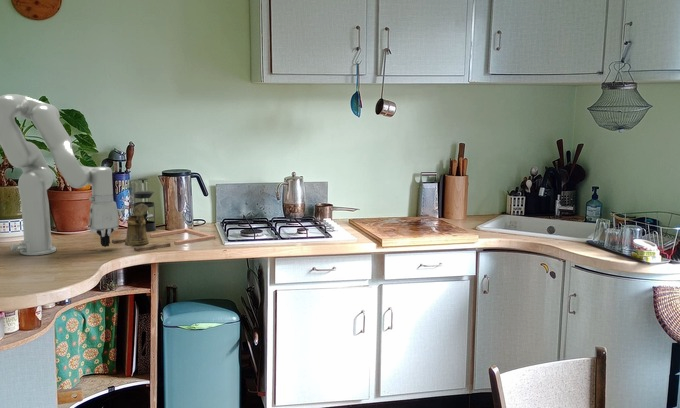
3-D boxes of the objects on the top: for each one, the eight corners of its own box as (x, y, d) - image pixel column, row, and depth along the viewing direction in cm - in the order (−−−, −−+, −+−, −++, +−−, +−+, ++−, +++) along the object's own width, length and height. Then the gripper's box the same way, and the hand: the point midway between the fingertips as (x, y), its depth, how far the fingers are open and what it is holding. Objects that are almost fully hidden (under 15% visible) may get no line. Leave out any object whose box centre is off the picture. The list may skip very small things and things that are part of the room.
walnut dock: (137, 251, 262) (137, 248, 262) (111, 242, 278) (111, 239, 278) (170, 246, 272) (170, 243, 271) (143, 237, 287) (143, 234, 287)
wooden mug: (132, 249, 266) (130, 203, 263) (122, 243, 277) (120, 199, 274) (154, 246, 271) (153, 201, 268) (144, 240, 282) (142, 197, 279)
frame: (177, 245, 274) (177, 242, 274) (150, 236, 289) (150, 233, 289) (215, 238, 286) (215, 235, 286) (187, 230, 302) (187, 228, 301)
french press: (157, 227, 309) (155, 176, 306) (157, 231, 300) (154, 179, 297) (130, 228, 307) (128, 177, 303) (129, 232, 298) (126, 180, 294)
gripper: (88, 202, 254) (90, 250, 257) (125, 198, 264) (128, 244, 267) (79, 200, 259) (82, 247, 262) (116, 196, 269) (119, 241, 272)
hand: (105, 245), depth 264 cm, fingers closed
